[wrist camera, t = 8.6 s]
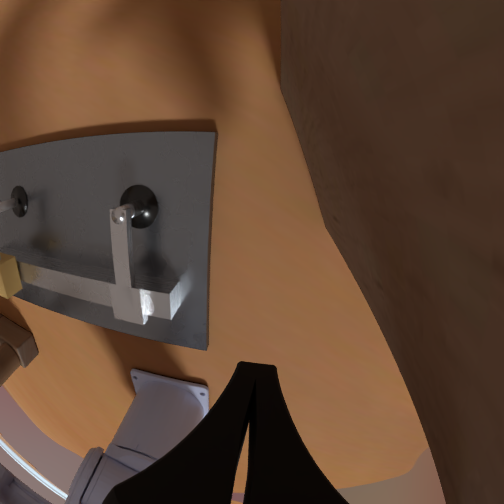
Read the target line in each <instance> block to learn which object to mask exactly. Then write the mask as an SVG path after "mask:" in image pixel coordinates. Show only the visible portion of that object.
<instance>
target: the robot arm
mask: <svg viewBox="0 0 504 504" xmlns="http://www.w3.org/2000/svg"><path fill="white" fill-rule="evenodd" d="M130 374H131V377H132V381H133V385H134V388H135V392H136V396H135V398H134V400H133V402H132V404H131V406H130V407H129V409H128V411H127V413H126V415H125V417H124V419H123V421H122V423H121V424H120V426H119V428H118V430H117V432H116V434H115V436H114V438H113V440H112V442H111V443H110V444H109V446H108V448H107V450H106V452H105V453H103V451H104V449H103V448H101V447H97V448H91V449H90V450H89V451H88V453H87V455H86V456H85V458H84V460H83V462H82V463H81V465H80V467H79V469H78V471H77V473H76V475H75V477H74V479H73V481H72V484H71V486H70V489H69V495H68V497H67V499H66V502H65V504H231V499H232V493H233V487H234V481H235V475H236V470H237V466H238V462H239V458H240V454H241V451H242V447H243V443H244V439H245V435H246V431H247V428H248V424H249V448H248V472H247V481H246V487H245V494H244V501H243V504H349V503H348V502H347V501H346V500H345V499H344V498H343V497H342V496H341V495H340V493H339V492H338V491H337V490H336V489H335V488H334V487H333V485H332V484H331V483H330V482H329V480H328V479H327V478H326V476H325V475H324V474H323V472H322V471H321V470H320V468H319V467H318V466H317V464H316V463H315V461H314V460H313V458H312V456H311V455H310V453H309V452H308V450H307V448H306V446H305V445H304V443H303V441H302V439H301V437H300V435H299V433H298V431H297V429H296V427H295V425H294V423H293V421H292V418H291V416H290V413H289V411H288V408H287V405H286V403H285V400H284V397H283V394H282V391H281V387H280V383H279V379H278V374H277V368H276V367H275V366H274V365H268V364H259V363H251V362H243V361H241V362H239V363H238V364H237V367H236V369H235V372H234V374H233V376H232V378H231V379H230V381H229V383H228V385H227V386H226V388H225V389H224V391H223V392H222V394H221V395H220V397H219V398H218V400H217V401H216V403H215V404H214V405H213V407H212V408H211V409H210V410H209V389H208V387H207V386H205V385H201V384H195V383H191V382H186V381H181V380H177V379H172V378H168V377H164V376H160V375H156V374H152V373H148V372H144V371H141V370H137V369H132V370H131V372H130ZM0 504H52V503H50V502H49V501H47V500H46V499H44V498H43V497H41V496H40V495H39V494H37V493H36V492H34V491H33V490H32V489H30V488H29V487H28V486H27V485H25V484H24V483H23V482H21V481H20V480H19V479H18V478H16V477H15V476H14V475H13V474H12V473H11V472H10V471H9V470H7V469H6V468H5V467H4V466H3V465H1V463H0Z"/></svg>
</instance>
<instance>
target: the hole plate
mask: <svg viewBox="0 0 504 504" xmlns="http://www.w3.org/2000/svg"><path fill="white" fill-rule="evenodd" d="M217 139H218V133H216V132H140V133H123V134H110V135H99V136H90V137H81V138H73V139H66V140H59V141H53V142H47V143H42V144H36V145H31V146H26V147H21V148H17V149H12V150H8V151H4V152H0V202H3V201H6V200H9V199H12V198H15V200H16V207H15V208H12V209H9V210H6V211H4V212H1V213H0V252H1V253H4V254H8V255H12V256H15V258H16V263H17V268H18V272H19V276H20V280H21V284H22V288H23V289H21V290H20V291H18V292H17V293H16V294H14V295H13V296H15V297H18V298H20V299H23V300H25V301H28V302H30V303H33V304H35V305H38V306H41V307H43V308H46V309H49V310H52V311H54V312H57V313H60V314H63V315H66V316H69V317H72V318H75V319H78V320H81V321H84V322H88V323H91V324H94V325H98V326H101V327H104V328H108V329H112V330H115V331H119V332H123V333H126V334H130V335H134V336H138V337H142V338H147V339H151V340H155V341H160V342H164V343H169V344H174V345H179V346H184V347H189V348H194V349H199V350H205V351H207V348H208V345H209V286H210V254H211V231H212V211H213V194H214V178H215V164H216V151H217Z"/></svg>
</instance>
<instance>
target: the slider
mask: <svg viewBox="0 0 504 504" xmlns="http://www.w3.org/2000/svg"><path fill="white" fill-rule="evenodd" d="M15 207H16V200H15V198H12V199H9V200H6V201H3V202H0V213H1V212H4V211H6V210H9V209H12V208H15ZM21 289H23V288H22V284H21V280H20V276H19V272H18V268H17V263H16V258H15V256H12V255H8V254H4V253H1V252H0V296H2V297H4V298H7V299H9V298H10V297H11V296H13V295H14V294H16V293H17V292H18V291H20V290H21Z"/></svg>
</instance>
